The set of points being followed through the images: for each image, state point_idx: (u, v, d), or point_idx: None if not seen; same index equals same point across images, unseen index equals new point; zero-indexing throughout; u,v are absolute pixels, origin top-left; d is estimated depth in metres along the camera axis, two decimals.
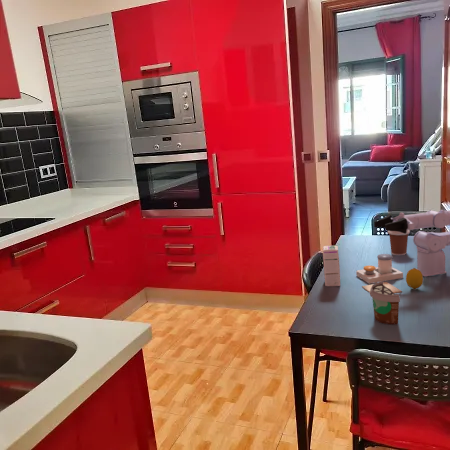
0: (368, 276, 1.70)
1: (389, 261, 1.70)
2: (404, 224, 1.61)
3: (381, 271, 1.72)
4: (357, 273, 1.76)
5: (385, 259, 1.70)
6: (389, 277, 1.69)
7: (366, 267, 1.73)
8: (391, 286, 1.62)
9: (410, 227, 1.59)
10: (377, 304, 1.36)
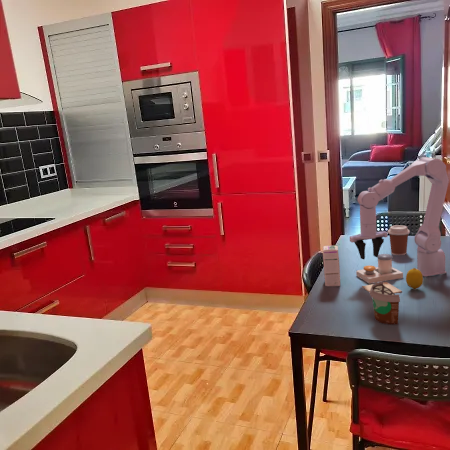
0: (368, 276, 1.70)
1: (389, 261, 1.70)
2: None
3: (381, 271, 1.72)
4: (357, 273, 1.76)
5: (385, 259, 1.70)
6: (389, 277, 1.69)
7: (366, 267, 1.73)
8: (391, 286, 1.62)
9: (351, 241, 1.68)
10: (377, 304, 1.36)
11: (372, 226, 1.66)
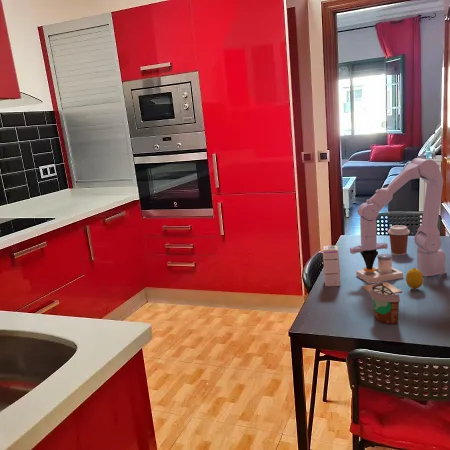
0: (368, 276, 1.70)
1: (389, 261, 1.70)
2: None
3: (381, 272, 1.72)
4: (357, 273, 1.76)
5: (385, 259, 1.70)
6: (389, 277, 1.69)
7: (366, 268, 1.73)
8: (391, 286, 1.62)
9: (351, 252, 1.69)
10: (377, 304, 1.36)
11: (372, 238, 1.67)
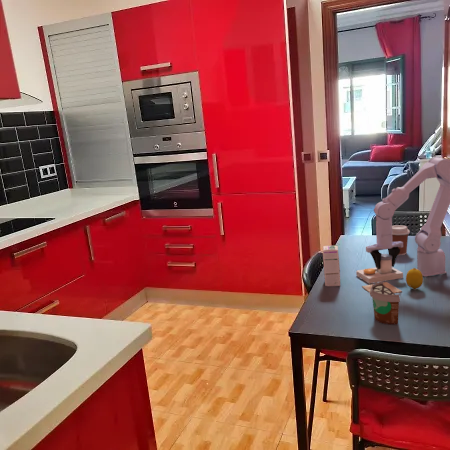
0: (368, 276, 1.70)
1: (389, 261, 1.70)
2: None
3: (381, 271, 1.72)
4: (357, 273, 1.76)
5: (385, 259, 1.70)
6: (389, 277, 1.69)
7: (366, 270, 1.73)
8: (391, 286, 1.62)
9: (367, 251, 1.70)
10: (377, 304, 1.36)
11: (388, 236, 1.68)
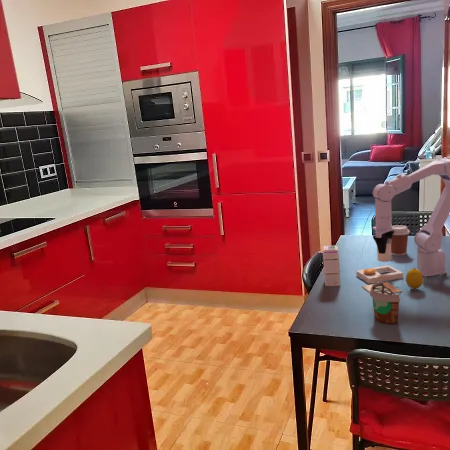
0: (368, 276, 1.70)
1: (390, 243, 1.69)
2: None
3: (385, 256, 1.68)
4: (357, 273, 1.76)
5: (389, 242, 1.67)
6: (389, 277, 1.69)
7: (366, 270, 1.73)
8: (391, 286, 1.62)
9: (379, 236, 1.63)
10: (377, 304, 1.36)
11: (391, 218, 1.66)
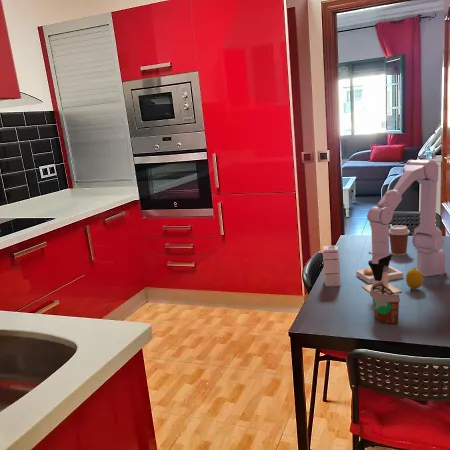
0: (368, 276, 1.70)
1: None
2: None
3: None
4: (357, 273, 1.76)
5: (386, 270, 1.57)
6: (389, 277, 1.69)
7: (366, 270, 1.73)
8: (391, 286, 1.62)
9: (375, 262, 1.52)
10: (377, 304, 1.36)
11: (388, 242, 1.56)
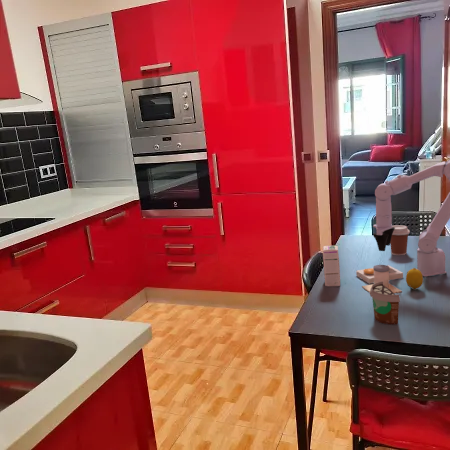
0: (368, 276, 1.70)
1: (388, 271, 1.59)
2: (378, 235, 1.72)
3: (383, 284, 1.58)
4: (357, 273, 1.76)
5: (387, 270, 1.57)
6: (389, 277, 1.69)
7: (366, 270, 1.73)
8: (391, 286, 1.62)
9: (380, 234, 1.70)
10: (377, 304, 1.36)
11: (391, 216, 1.73)
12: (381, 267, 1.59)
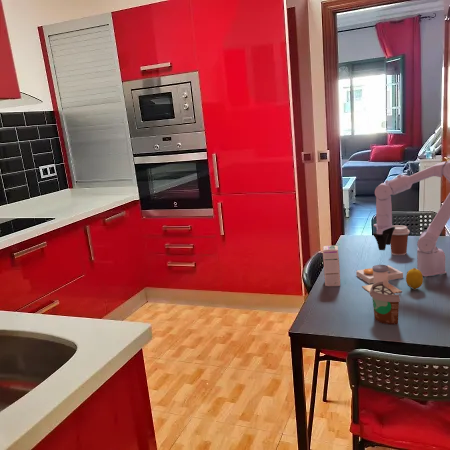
0: (368, 276, 1.70)
1: (387, 271, 1.59)
2: None
3: None
4: (357, 273, 1.76)
5: (386, 270, 1.57)
6: (389, 277, 1.69)
7: (366, 270, 1.73)
8: (391, 286, 1.62)
9: (380, 233, 1.71)
10: (377, 304, 1.36)
11: (391, 216, 1.74)
12: (380, 267, 1.59)
